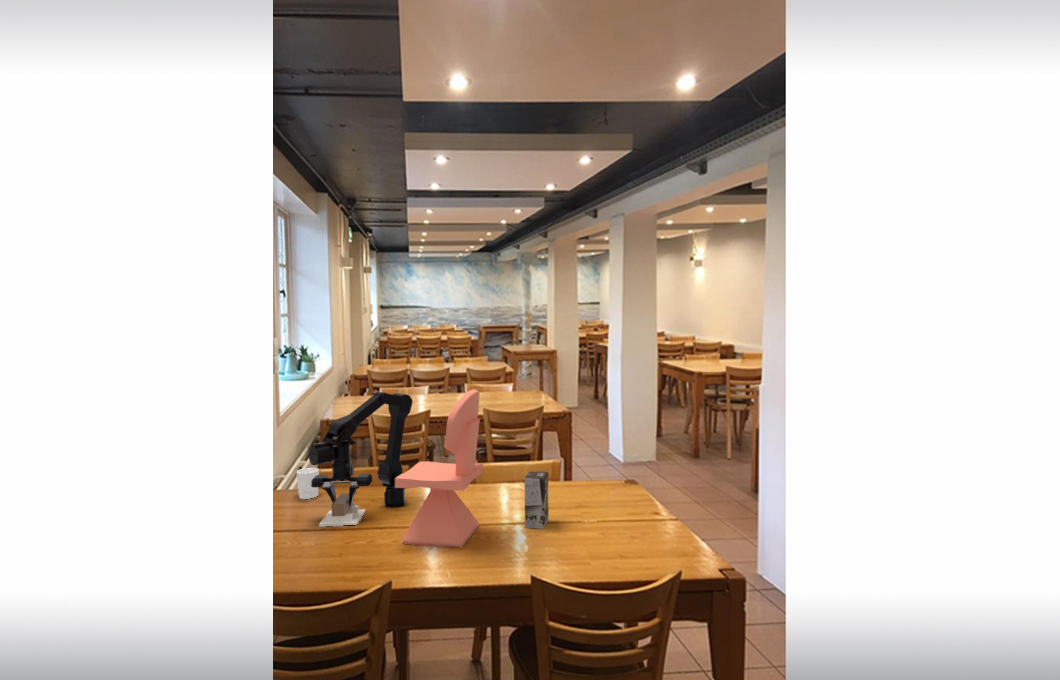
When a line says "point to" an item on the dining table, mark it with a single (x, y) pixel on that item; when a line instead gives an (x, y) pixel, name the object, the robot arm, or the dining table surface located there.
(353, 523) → the display rest
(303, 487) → the white cup
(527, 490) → the coffee box
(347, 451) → the robot arm
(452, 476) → the chair
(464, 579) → the dining table surface
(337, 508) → the gray cuboid brick
